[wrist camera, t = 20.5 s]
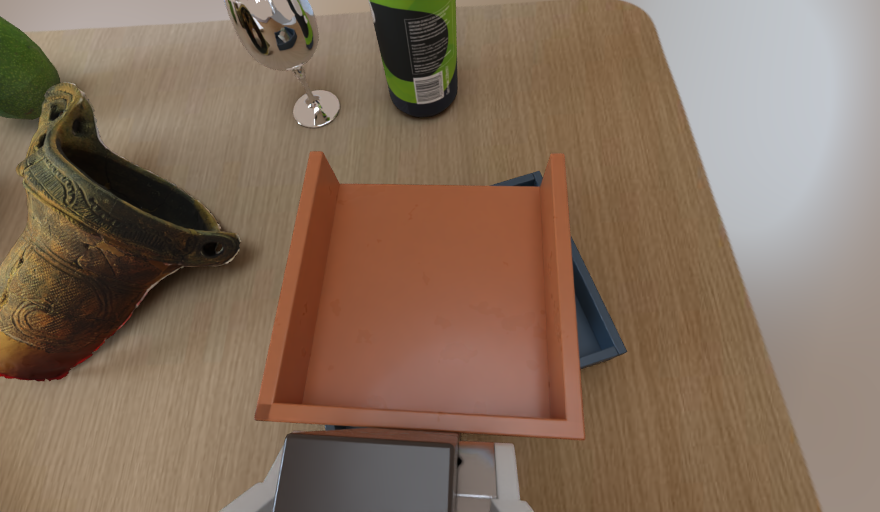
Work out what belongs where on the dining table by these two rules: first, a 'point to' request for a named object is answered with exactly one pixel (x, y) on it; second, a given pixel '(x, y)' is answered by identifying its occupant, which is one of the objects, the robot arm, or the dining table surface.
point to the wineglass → (285, 48)
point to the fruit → (23, 74)
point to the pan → (418, 336)
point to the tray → (591, 313)
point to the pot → (90, 243)
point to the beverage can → (418, 52)
